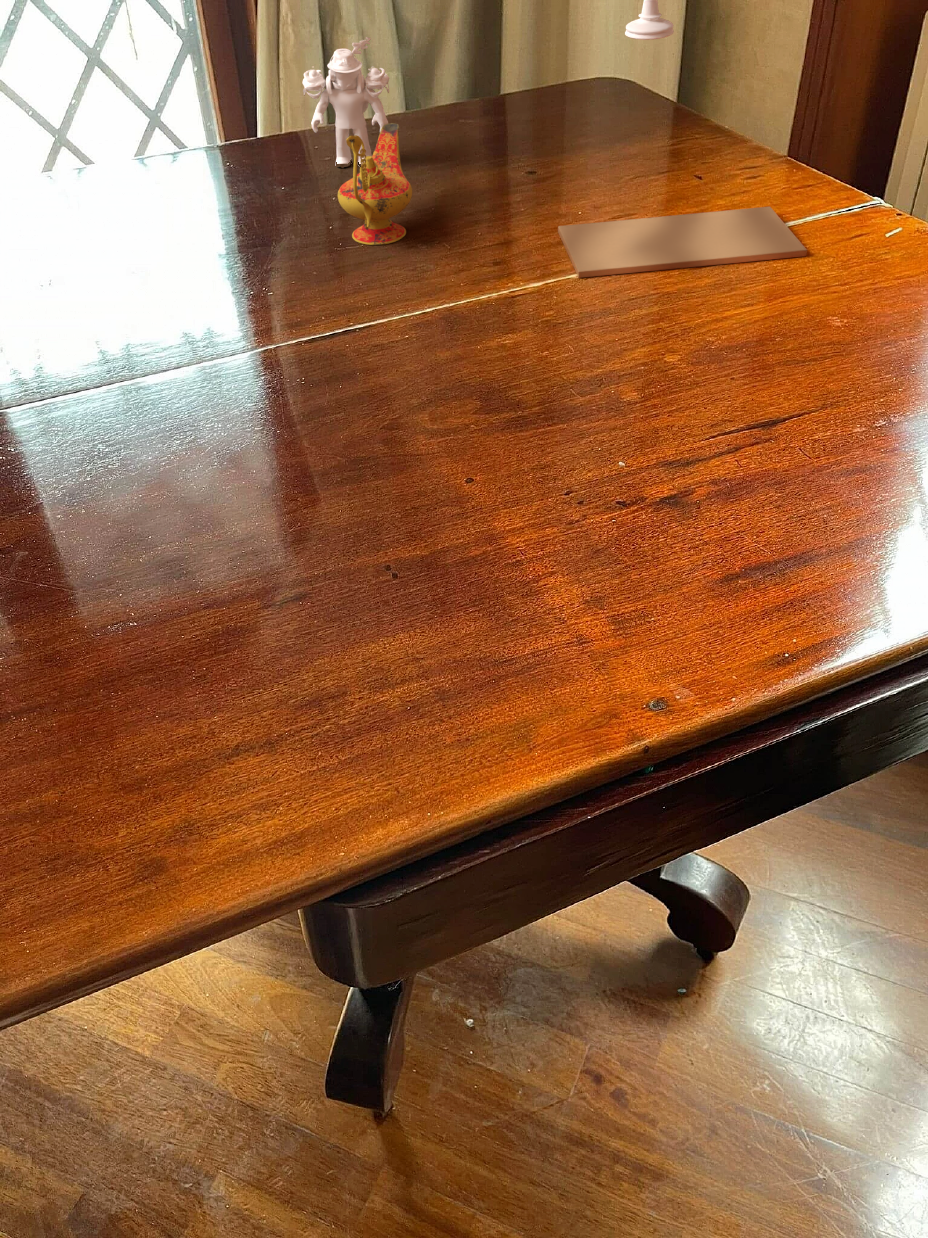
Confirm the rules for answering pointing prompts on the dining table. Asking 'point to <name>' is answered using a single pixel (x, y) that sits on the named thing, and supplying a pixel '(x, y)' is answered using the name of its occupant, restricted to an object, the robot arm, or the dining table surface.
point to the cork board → (678, 241)
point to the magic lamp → (377, 189)
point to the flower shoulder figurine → (348, 98)
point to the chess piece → (649, 23)
